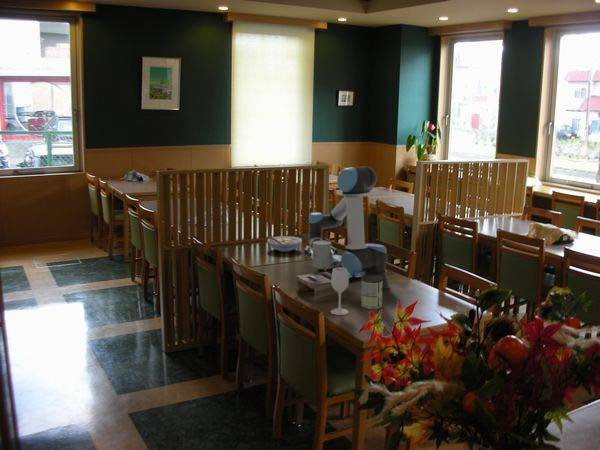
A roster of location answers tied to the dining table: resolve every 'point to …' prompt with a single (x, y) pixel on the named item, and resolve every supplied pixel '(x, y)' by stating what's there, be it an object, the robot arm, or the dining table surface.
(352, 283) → the dining table surface
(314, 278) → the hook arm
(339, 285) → the wineglass
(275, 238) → the ramen bowl
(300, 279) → the shelf
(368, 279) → the coffee can
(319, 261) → the gray cylinder
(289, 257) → the dining table surface
